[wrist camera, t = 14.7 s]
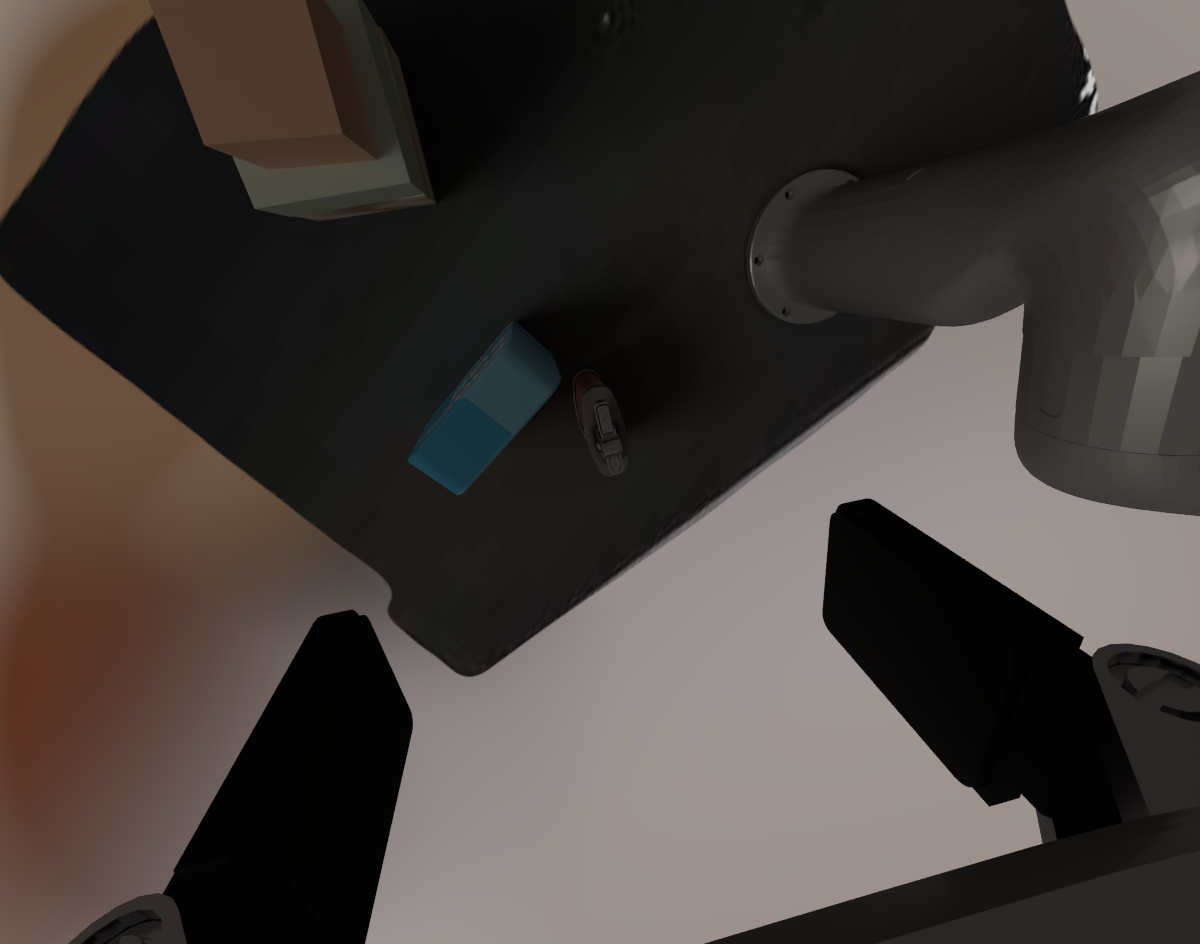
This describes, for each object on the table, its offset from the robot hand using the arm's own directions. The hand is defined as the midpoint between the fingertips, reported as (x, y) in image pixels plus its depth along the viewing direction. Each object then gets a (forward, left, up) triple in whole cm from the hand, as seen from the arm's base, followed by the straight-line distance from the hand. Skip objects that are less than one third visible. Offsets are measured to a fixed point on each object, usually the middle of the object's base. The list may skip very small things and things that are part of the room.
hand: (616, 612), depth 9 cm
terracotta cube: (+10, -16, -26) cm, 33 cm away
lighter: (-4, +7, -36) cm, 37 cm away
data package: (+5, +3, -37) cm, 37 cm away
